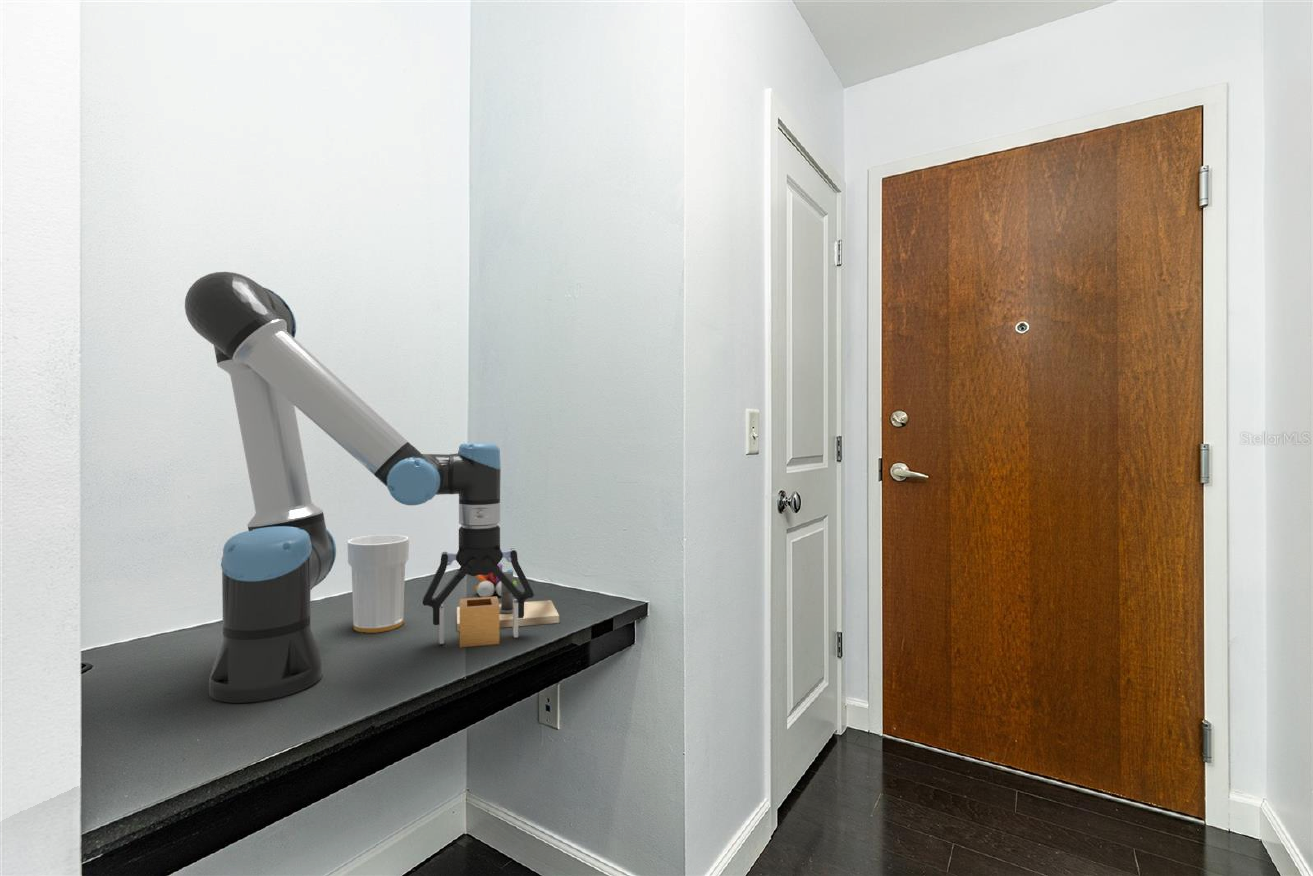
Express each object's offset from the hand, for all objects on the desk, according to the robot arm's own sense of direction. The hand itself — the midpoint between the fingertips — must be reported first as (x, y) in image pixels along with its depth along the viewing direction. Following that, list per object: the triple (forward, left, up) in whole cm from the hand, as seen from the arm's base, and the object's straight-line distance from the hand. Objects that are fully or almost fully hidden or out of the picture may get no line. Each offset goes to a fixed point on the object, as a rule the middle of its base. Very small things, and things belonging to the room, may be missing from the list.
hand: (479, 638), depth 120 cm
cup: (-19, +14, 0) cm, 24 cm away
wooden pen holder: (0, 0, 0) cm, 0 cm away
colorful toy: (+5, +33, -1) cm, 33 cm away
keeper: (+6, +12, 0) cm, 13 cm away
